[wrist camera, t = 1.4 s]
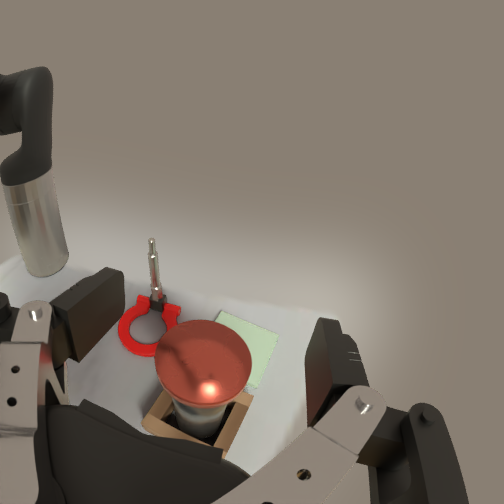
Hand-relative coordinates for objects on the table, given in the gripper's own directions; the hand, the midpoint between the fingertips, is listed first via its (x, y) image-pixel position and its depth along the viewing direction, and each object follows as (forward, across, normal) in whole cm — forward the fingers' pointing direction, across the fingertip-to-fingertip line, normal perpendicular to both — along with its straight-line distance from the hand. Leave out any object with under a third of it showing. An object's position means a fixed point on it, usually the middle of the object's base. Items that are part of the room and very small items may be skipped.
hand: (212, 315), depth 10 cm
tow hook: (+19, +12, +18) cm, 29 cm away
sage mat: (+20, 0, +18) cm, 27 cm away
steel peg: (+9, +2, +21) cm, 23 cm away
